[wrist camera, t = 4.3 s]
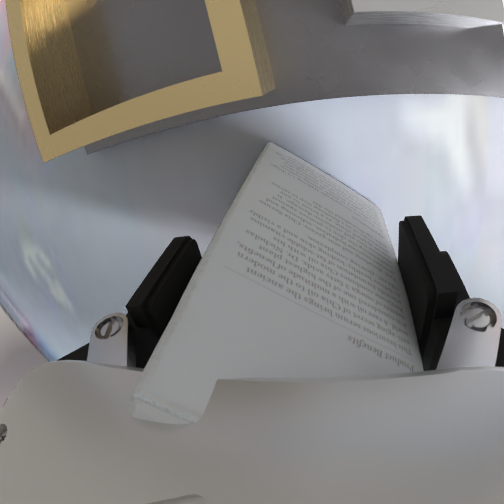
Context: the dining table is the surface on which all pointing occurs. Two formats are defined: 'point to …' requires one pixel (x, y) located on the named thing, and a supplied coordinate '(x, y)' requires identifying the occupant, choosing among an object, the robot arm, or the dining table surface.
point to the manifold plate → (236, 59)
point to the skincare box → (283, 295)
